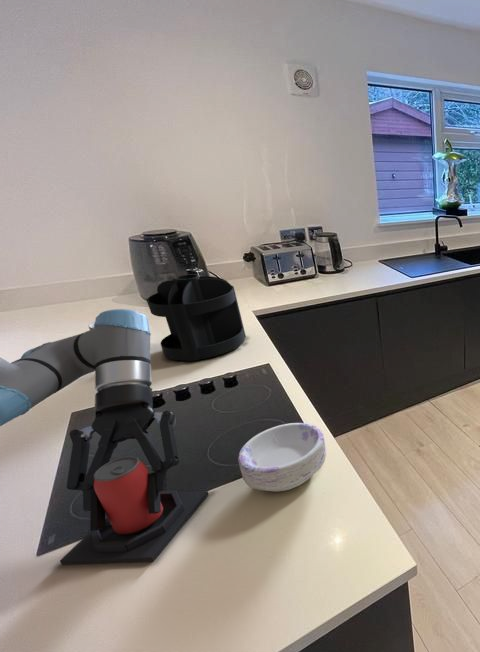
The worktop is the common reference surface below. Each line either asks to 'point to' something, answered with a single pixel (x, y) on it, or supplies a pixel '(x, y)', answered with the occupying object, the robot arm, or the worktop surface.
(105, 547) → the dock pad
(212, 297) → the container
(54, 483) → the worktop surface
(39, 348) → the robot arm
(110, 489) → the beer can
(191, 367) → the worktop surface
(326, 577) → the worktop surface
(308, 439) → the white round bowl
